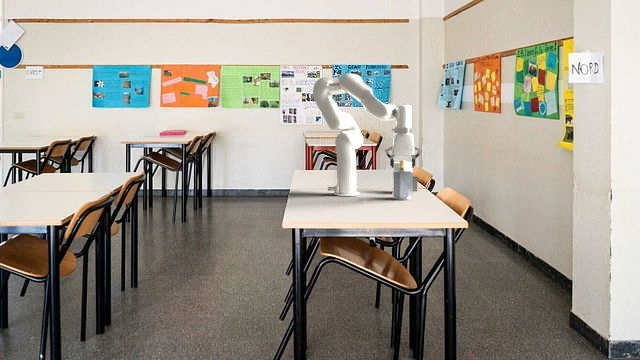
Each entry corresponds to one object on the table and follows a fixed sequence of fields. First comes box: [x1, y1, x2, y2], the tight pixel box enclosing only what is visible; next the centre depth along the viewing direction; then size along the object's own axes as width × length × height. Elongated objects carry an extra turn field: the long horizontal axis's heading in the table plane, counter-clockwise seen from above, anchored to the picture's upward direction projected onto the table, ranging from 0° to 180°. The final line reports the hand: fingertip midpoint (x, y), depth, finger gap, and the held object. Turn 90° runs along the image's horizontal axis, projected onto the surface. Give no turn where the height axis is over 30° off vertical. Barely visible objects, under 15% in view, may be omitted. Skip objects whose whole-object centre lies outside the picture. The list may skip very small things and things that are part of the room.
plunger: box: [398, 160, 408, 172], centre depth 298 cm, size 6×6×16 cm
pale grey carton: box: [392, 170, 419, 201], centre depth 299 cm, size 12×9×13 cm
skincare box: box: [393, 161, 413, 172], centre depth 318 cm, size 8×7×16 cm
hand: (402, 167), depth 298 cm, fingers open, 9 cm apart
